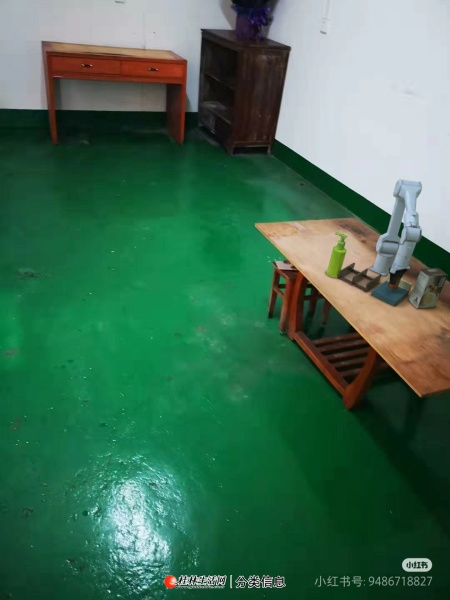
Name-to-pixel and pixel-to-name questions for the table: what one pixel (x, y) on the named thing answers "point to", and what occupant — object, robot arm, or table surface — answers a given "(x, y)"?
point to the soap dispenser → (337, 257)
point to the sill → (392, 292)
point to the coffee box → (428, 287)
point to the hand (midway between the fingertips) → (394, 282)
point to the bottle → (395, 284)
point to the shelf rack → (358, 277)
